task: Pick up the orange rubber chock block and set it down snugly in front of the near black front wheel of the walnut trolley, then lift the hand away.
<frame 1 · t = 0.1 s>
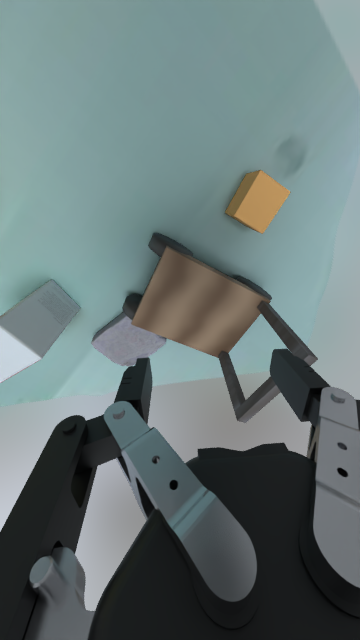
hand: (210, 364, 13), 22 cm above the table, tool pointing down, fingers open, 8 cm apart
chock: (247, 202, 28), on the table
trolley: (194, 292, 35), on the table
stone block: (133, 333, 39), on the table
small box: (51, 304, 35), on the table
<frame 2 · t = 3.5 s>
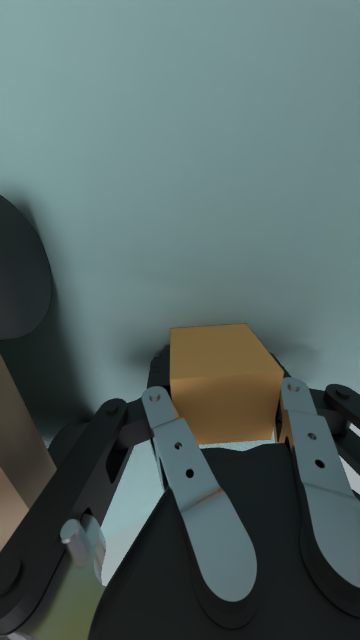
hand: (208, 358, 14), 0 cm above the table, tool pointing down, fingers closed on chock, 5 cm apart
chock: (208, 354, 14), on the table, touching gripper
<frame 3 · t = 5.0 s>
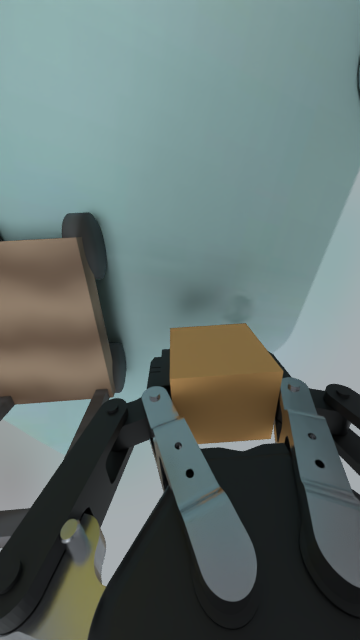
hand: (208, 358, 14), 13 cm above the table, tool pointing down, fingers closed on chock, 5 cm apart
chock: (208, 353, 14), point 12 cm above the table, touching gripper
trolley: (66, 308, 25), on the table
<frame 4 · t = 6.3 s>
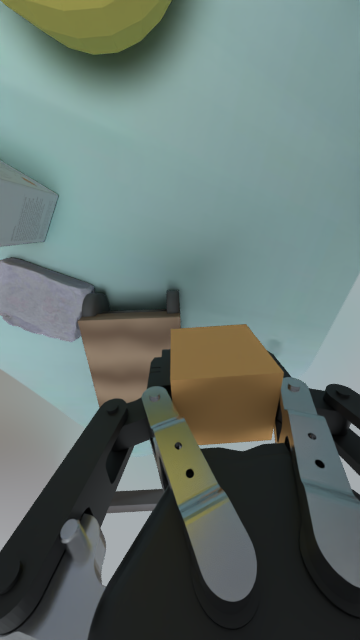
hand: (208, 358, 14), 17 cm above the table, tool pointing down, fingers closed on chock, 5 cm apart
chock: (208, 354, 14), point 17 cm above the table, touching gripper
trolley: (143, 346, 34), on the table
stone block: (53, 300, 30), on the table
small box: (20, 201, 25), on the table
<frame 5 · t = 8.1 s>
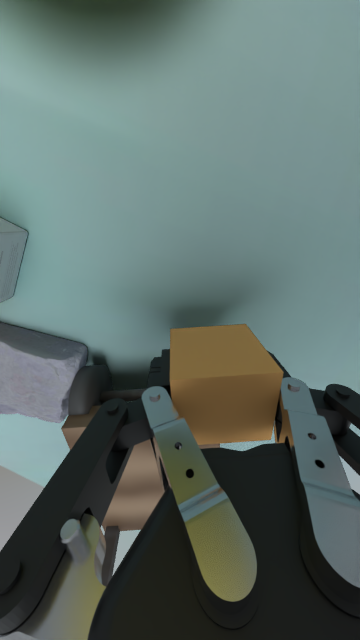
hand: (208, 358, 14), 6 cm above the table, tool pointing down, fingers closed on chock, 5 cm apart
chock: (208, 354, 14), point 6 cm above the table, touching gripper
trolley: (157, 419, 25), on the table
stone block: (30, 365, 22), on the table
when the fingers open (2 cm above the table, at t = 9.5 s): chock drops 1 cm, on the table.
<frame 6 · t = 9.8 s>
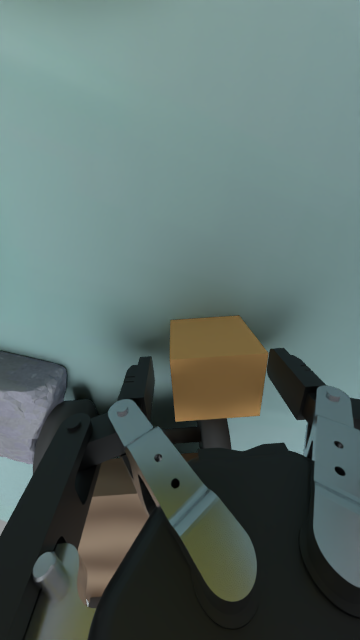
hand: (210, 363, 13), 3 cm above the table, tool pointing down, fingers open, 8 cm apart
chock: (204, 343, 16), on the table
trolley: (154, 456, 21), on the table
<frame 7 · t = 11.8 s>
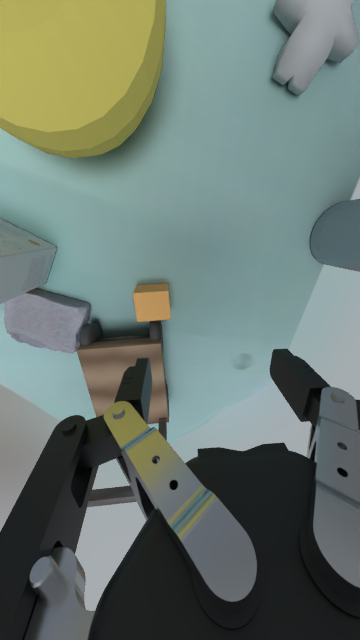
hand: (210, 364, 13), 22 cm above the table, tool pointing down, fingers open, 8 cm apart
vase: (85, 83, 24), on the table
chock: (154, 296, 34), on the table
trolley: (133, 363, 39), on the table
stone block: (54, 318, 35), on the table
small box: (25, 253, 30), on the table
bunny figurine: (316, 10, 23), on the table
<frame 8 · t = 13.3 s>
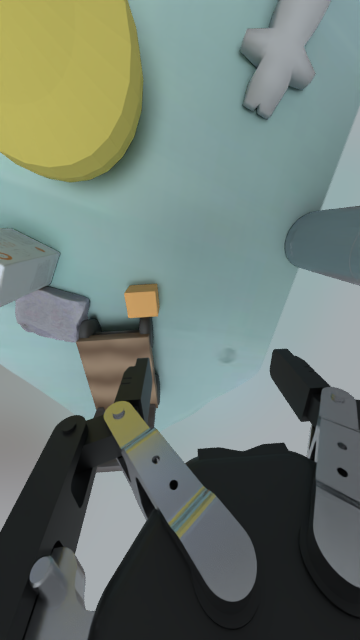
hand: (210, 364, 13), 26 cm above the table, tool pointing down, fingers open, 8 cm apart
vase: (83, 114, 28), on the table
chock: (145, 296, 38), on the table
trolley: (128, 356, 43), on the table
stone block: (58, 311, 39), on the table
small box: (33, 257, 35), on the table
bunny figurine: (280, 46, 26), on the table
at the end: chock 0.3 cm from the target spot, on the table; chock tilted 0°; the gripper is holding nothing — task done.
